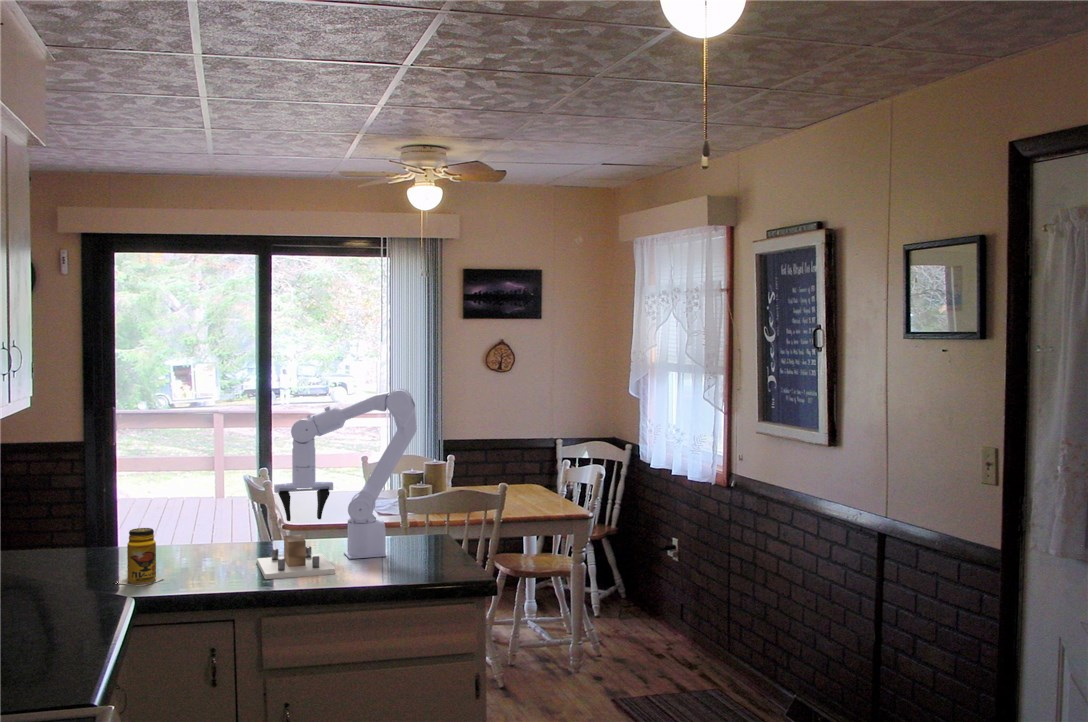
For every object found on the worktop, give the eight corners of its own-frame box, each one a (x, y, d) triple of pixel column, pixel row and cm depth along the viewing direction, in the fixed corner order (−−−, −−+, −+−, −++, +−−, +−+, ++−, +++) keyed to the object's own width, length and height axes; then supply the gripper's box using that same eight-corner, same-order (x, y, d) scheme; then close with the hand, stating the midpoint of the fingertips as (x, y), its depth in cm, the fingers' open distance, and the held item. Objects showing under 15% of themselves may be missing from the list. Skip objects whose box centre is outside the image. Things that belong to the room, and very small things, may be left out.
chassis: (322, 558, 257) (322, 543, 257) (335, 573, 240) (335, 558, 240) (256, 563, 251) (256, 548, 251) (265, 579, 234) (265, 563, 234)
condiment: (143, 586, 227) (143, 533, 226) (112, 583, 229) (112, 530, 229) (165, 579, 234) (165, 527, 233) (134, 576, 236) (134, 525, 236)
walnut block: (300, 558, 250) (300, 534, 250) (305, 565, 243) (305, 540, 243) (284, 560, 249) (284, 535, 249) (288, 567, 241) (288, 541, 241)
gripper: (329, 463, 265) (329, 515, 265) (272, 465, 259) (272, 518, 260) (334, 466, 258) (334, 519, 259) (276, 468, 253) (276, 523, 253)
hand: (303, 519), depth 259 cm, fingers open, 7 cm apart
